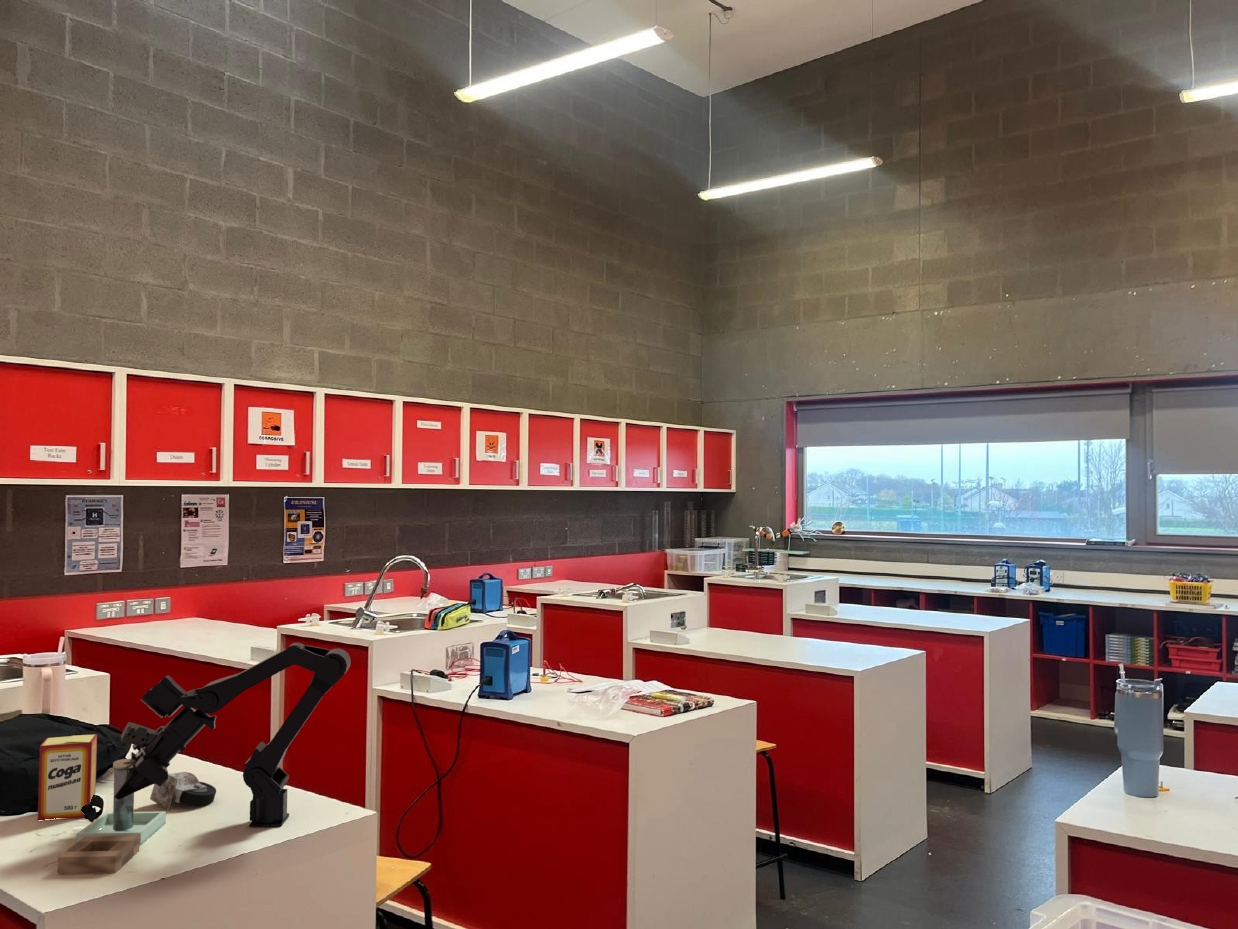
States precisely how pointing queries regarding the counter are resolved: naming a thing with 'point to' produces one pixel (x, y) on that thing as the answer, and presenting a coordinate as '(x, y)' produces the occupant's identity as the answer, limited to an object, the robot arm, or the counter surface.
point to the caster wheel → (183, 791)
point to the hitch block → (98, 854)
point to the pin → (124, 806)
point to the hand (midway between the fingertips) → (116, 795)
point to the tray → (142, 826)
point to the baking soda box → (66, 776)
